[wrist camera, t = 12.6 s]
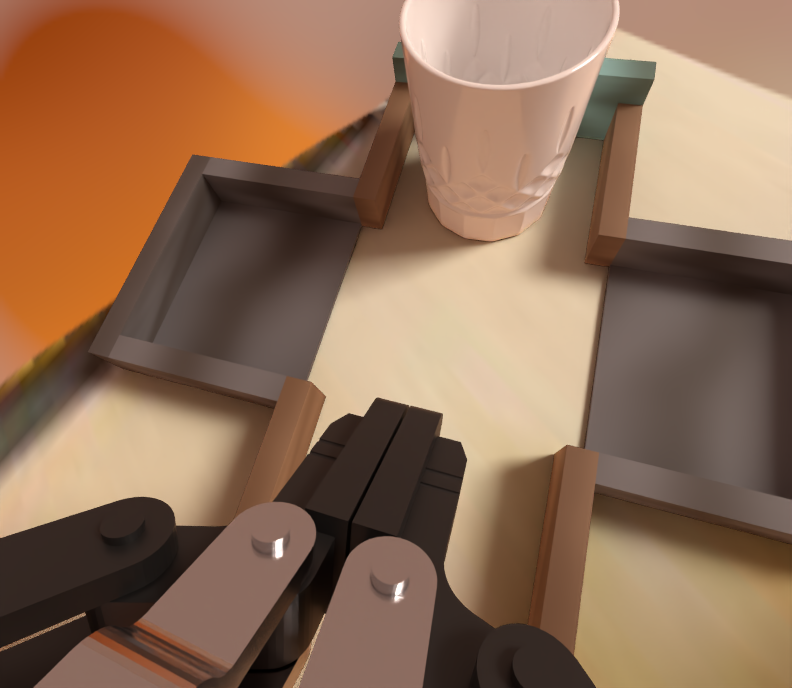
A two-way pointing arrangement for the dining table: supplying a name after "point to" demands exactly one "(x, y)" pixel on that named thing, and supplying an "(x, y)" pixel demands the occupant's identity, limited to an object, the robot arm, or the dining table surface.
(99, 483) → the dining table surface
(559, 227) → the dining table surface
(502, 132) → the white cup
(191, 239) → the grey compartment tray
